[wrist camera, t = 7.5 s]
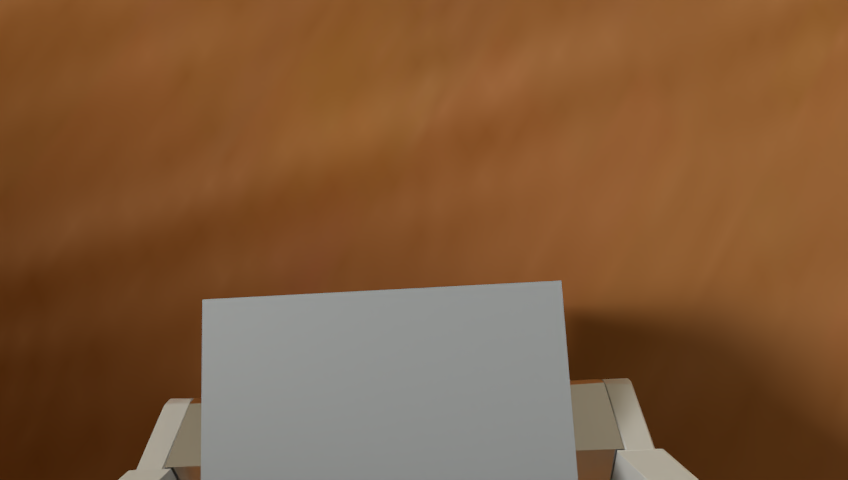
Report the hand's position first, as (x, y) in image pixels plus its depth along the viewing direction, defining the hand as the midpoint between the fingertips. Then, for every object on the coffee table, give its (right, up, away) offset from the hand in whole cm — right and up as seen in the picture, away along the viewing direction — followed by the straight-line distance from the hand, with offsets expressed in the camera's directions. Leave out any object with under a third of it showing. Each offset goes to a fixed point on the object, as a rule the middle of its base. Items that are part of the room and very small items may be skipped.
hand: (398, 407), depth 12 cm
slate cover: (0, -1, +4) cm, 4 cm away
